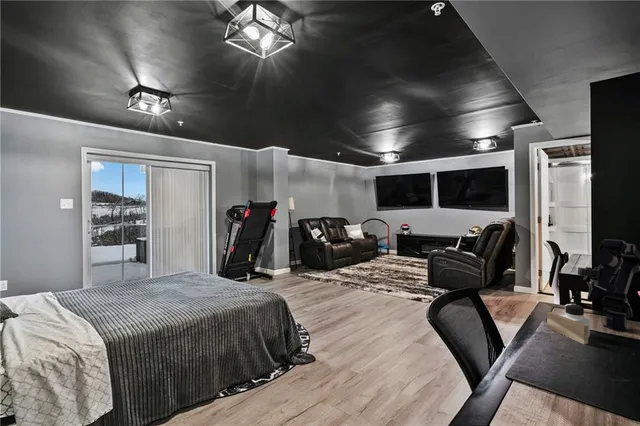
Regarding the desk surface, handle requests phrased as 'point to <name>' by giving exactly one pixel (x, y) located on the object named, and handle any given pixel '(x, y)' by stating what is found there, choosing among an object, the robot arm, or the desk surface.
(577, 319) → the medicine bottle
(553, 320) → the oak wall
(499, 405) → the desk surface
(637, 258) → the robot arm
